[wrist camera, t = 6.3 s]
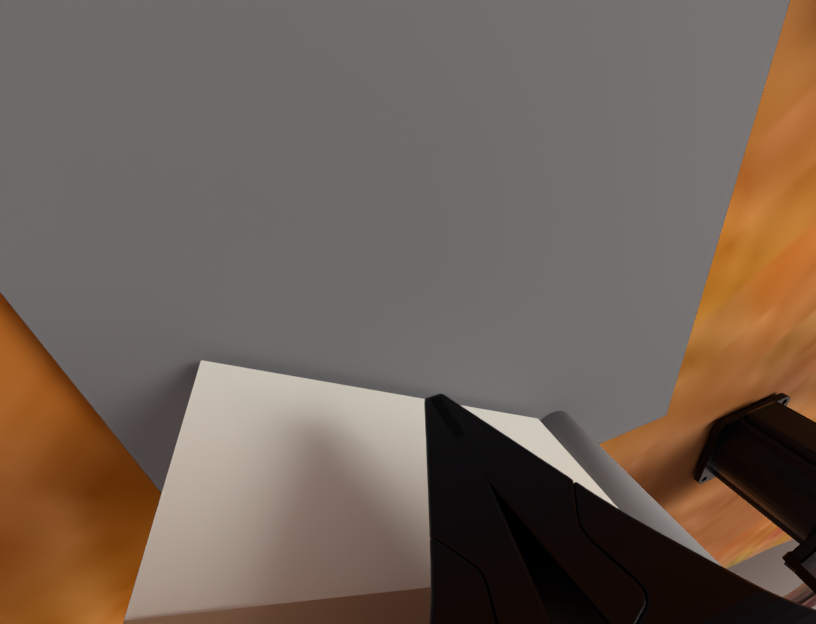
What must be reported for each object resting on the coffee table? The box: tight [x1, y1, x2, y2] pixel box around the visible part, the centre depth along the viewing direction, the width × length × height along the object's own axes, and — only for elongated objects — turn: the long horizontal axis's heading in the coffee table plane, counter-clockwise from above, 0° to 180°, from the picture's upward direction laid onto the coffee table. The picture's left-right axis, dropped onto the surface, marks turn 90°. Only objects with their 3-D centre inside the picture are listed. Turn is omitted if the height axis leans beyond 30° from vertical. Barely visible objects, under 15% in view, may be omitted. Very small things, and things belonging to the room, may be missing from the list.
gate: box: [123, 360, 619, 624], centre depth 11 cm, size 14×2×7 cm, turn 65°
